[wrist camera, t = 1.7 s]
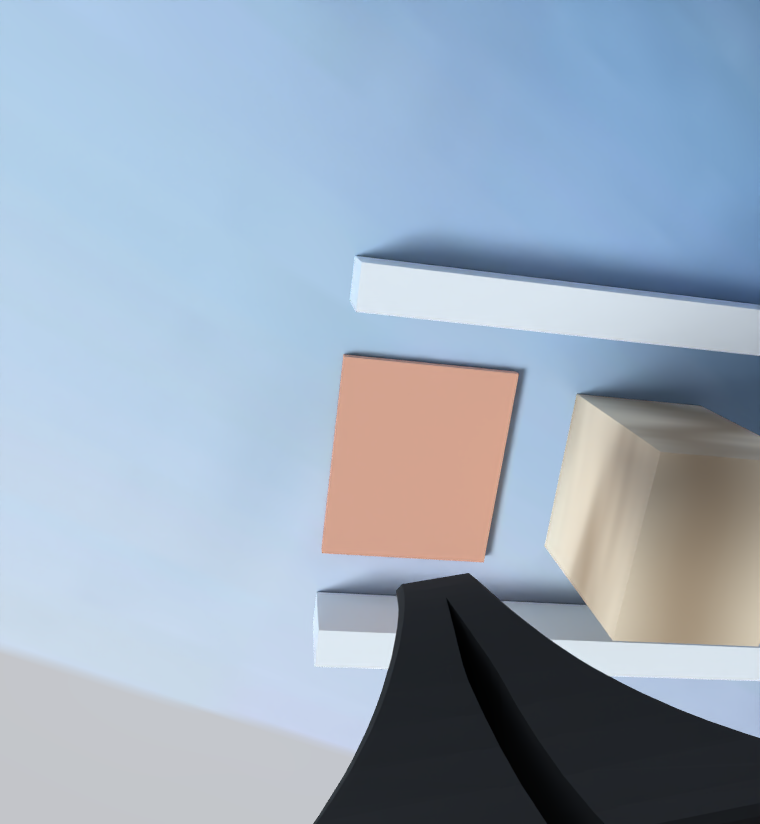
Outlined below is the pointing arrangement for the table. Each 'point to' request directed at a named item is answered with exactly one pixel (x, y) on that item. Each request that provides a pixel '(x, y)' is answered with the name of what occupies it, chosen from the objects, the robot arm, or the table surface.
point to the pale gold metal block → (661, 521)
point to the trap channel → (482, 450)
